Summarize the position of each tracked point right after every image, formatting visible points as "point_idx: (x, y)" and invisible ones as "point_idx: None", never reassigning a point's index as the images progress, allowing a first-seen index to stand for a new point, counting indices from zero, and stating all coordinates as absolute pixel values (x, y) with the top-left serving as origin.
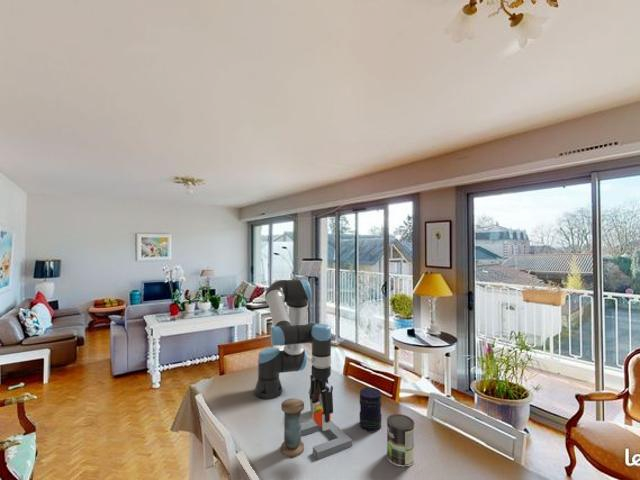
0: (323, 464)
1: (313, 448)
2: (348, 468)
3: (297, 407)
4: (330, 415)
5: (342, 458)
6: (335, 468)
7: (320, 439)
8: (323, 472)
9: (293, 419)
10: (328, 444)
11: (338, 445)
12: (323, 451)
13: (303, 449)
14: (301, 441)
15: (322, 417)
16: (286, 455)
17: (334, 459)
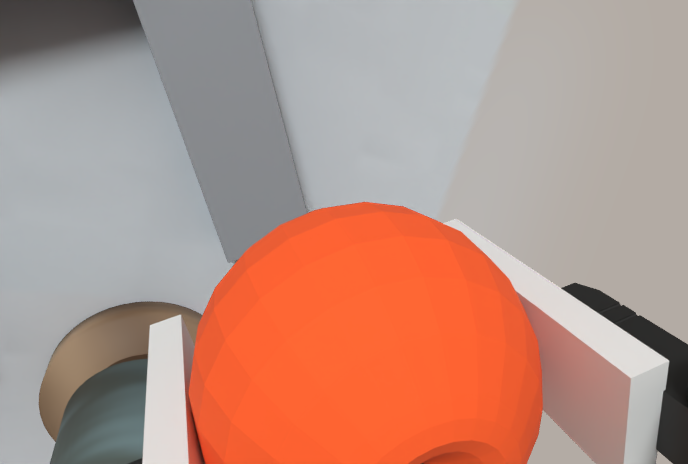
0: (360, 186)
1: (237, 255)
2: (454, 16)
3: None
4: (466, 242)
5: (342, 17)
6: (422, 114)
7: (16, 137)
8: (427, 202)
9: None
10: (224, 118)
11: (254, 16)
12: (297, 182)
13: (175, 309)
14: (93, 333)
15: (559, 418)
16: None
17: (334, 90)
